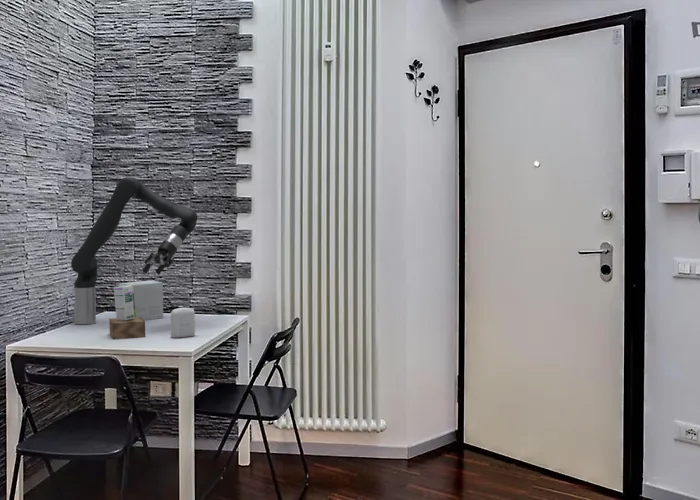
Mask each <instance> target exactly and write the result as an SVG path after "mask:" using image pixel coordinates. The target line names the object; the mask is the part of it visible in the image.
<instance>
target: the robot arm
mask: <svg viewBox="0 0 700 500" xmlns="http://www.w3.org/2000/svg"><path fill="white" fill-rule="evenodd" d="M132 198H135V199H138V200H139V201H140V200H141V201H143V202H144V203H146V204H147V205H149V206H151V207H152V208H153V209H155V211H157V212H158V213H161V214H163V215H164V216H166V217H168V218H170V219H171V220H172V219H173V220H175V219H177V218H178V219H180V220H181V221H180V222H179V224H177V225H175V226H174V228H172V230H171V231H170V232H169V234H167V236H166V237H164V239H163V240H162V242H161V243H160V244H159V246H158V247H157V252H156V253H154V252H151V253H150V254H149V255H148V257H147V258H146V259H145V260H144V264H145V266H144V267H143V268H142V272H143V273H144V274H147V273H148V272H149V270H150V269H151V268H152V267H153V266H156V265H159V266H158V267H157V268H156V269H155V271H154V272H155V273H156V274H157V275H161V273H162V272H163V270H164V269H166V268H167V269H168V268H169V267H170V266H171V265H172V264H173V262H174V260H175V258H176V257H175V254H176V253H177V251H178V250H179V249H180V248H181V246H182V243H183V242H184V241H185V240H186V238H187V236H189V234H191V233H192V232H193V230H194V229H195V227H196V226H197V222H198V214H197V212H196V211H195V210H193V209H191V208H190V207H186V206H182V205H179V204H177V203H175V202H173V201H171V200H169V199H167V198H166V197H164V196H162V195H159V194H158V193H156V192H155V191H153V190H152V189H150V188H149V187H147V186H145V184H143V183H142V182H140V180H138V179H137V178H135V177H128V176H127V177H122V178H121V179H120V180H119V181H118V182H117V184H116V186H115V189H114V191H113V193H112V194H111V197H110V199H109V201H108V202H107V204H106V205H105V207H104V209H103V210H102V211H101V214H100V215H99V216H98V218H97V220H96V221H95V223H94V225H93V226H92V228H91V229H90V232H89V233H88V235H87V237H86V239H85V241H84V242H83V244H82V245H81V246H80V248H79V249H78V250H77V252H76V253H75V254H74V255H73V257H72V258H71V261H70V262H71V263H70V266H71V269H72V270H73V272H75V273H77V277H76V279H75V281H74V283H73V285H74V287H73V288H74V304H73V320H74V321H73V322H74V323H73V324H74V325H93V324H96V323H97V315H96V314H97V311H96V307H97V306H96V305H97V304H96V303H97V302H96V298H97V297H96V283H97V280H98V260H97V258H96V254H97V253H98V251H99V250H100V249H101V248H102V247H103V246H104V245H105V243H107V242H108V241H109V240H110V239H111V237H112V236H113V234H114V233H115V231H116V230H117V228H118V226H119V224H120V221H121V218H122V213H123V211H124V208H125V207H126V206H127V204H128V202H129V201H130V199H132Z"/></svg>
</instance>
